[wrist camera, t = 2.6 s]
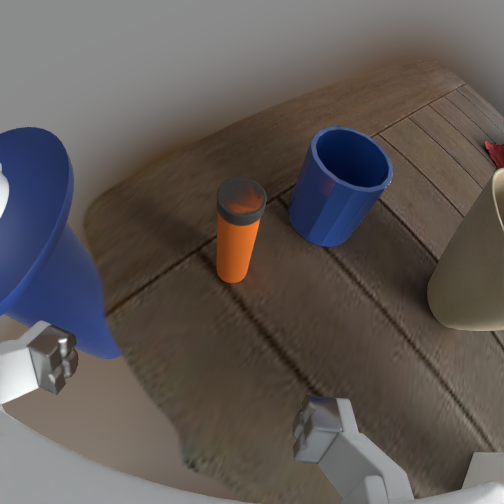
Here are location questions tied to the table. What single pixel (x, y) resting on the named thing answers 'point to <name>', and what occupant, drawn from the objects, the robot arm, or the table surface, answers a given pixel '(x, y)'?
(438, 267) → the plant pot
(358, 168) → the cup
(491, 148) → the plate with food
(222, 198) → the orange tube bottle
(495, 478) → the milk
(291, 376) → the table surface
